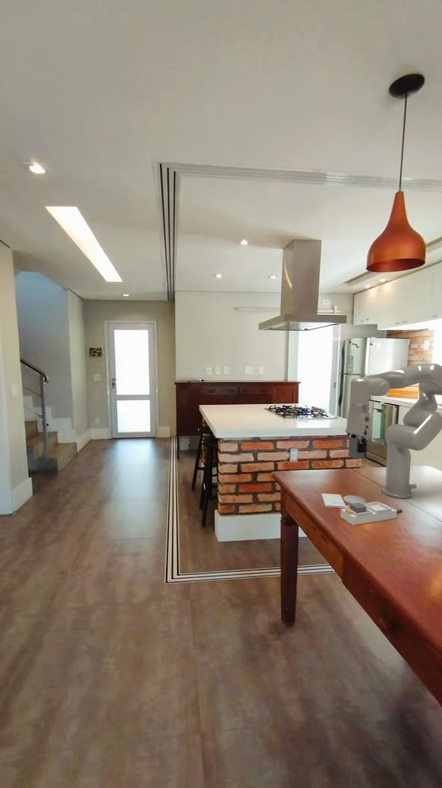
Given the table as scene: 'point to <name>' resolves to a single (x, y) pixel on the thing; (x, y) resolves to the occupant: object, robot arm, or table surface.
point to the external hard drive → (333, 501)
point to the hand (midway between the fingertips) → (356, 450)
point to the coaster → (354, 499)
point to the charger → (355, 448)
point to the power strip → (367, 513)
